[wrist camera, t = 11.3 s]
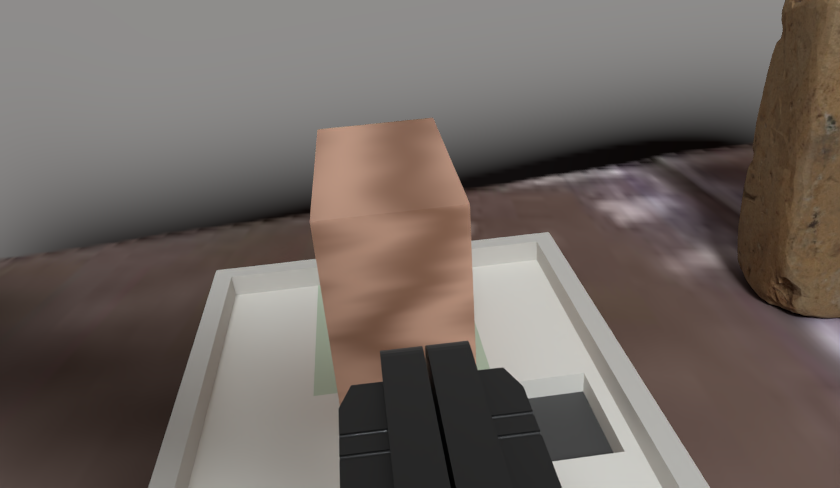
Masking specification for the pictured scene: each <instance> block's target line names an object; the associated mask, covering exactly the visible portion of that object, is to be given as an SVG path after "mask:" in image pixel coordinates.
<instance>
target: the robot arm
mask: <svg viewBox="0 0 840 488" xmlns="http://www.w3.org/2000/svg"><path fill="white" fill-rule="evenodd" d="M380 360H381V370H382V380H383V382H375V383H366V384H358V385H351V386H350V388H349V390H348V392H347V394H346V396H345V397H344V399H343V401H342V403H341V405H340V407H339V457H340V461H339V467H340V488H562V486H561V484H560V481H559V479H558V476H557V473H556V471H555V468H554V465H553V463H552V460H551V458H550V455H549V452H548V450H547V447H546V444H545V442H544V439H543V437H542V435H541V434H540V429H539V426H538V423H537V421H536V418H535V416H534V415H533V410H532V408H531V405H530V402H529V400H528V397H527V395H526V392H525V389H524V387H523V386H522V385H521V384H520V383H519V382H518V381H517V380H516V379H515V378H514V377H513V376H512V375H511V374H510V373H509V372H508V371H507V370H506V369H504V368H503V367H502V368H493V369H485V370H478V369H477V366H476V363H475V359H474V356H473V353H472V349H471V346H470V343H469V341H460V342H451V343H442V344H433V345H426V346H425V356H424V351H423V347H422V346H417V347H408V348H399V349H391V350H382V351H380ZM425 360H426V361H425Z"/></svg>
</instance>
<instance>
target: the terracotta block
mask: <svg viewBox="0 0 840 488" xmlns="http://www.w3.org/2000/svg"><path fill="white" fill-rule="evenodd" d="M310 226H311V232H312V238H313V244H314V251H315V257H316V263H317V269H318V275H319V281H320V287H321V293H322V300H323V306H324V312H325V318H326V324H327V330H328V336H329V342H330V349H331V355H332V361H333V367H334V373H335V379H336V385H337V391H338V398H339V404H340V405H341V403H342V401H343V399H344V397H345V396H346V394H347V392H348V390H349V388H350V386H351V385H358V384H366V383H375V382H383V380H382V370H381V360H380V351H382V350H391V349H399V348H408V347H417V346H422V347H423V351H424V356H425V346H426V345H433V344H442V343H451V342H460V341H469V343H470V346H471V349H472V353H473V356H474V359H475V363H476V344H475V320H474V296H473V271H472V247H471V223H470V204H469V201H468V199H467V197H466V194H465V192H464V190H463V187H462V185H461V182H460V181H459V178H458V175H457V173H456V171H455V169H454V166H453V164H452V161H451V159H450V157H449V154H448V152H447V150H446V147H445V145H444V143H443V140H442V138H441V136H440V133H439V131H438V129H437V126H436V124H435V121H434V119H433V118H425V119H416V120H406V121H396V122H387V123H376V124H367V125H357V126H347V127H338V128H328V129H318V131H317V142H316V154H315V166H314V179H313V190H312V202H311V214H310ZM425 361H426V360H425Z"/></svg>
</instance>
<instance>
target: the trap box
mask: <svg viewBox="0 0 840 488" xmlns="http://www.w3.org/2000/svg"><path fill="white" fill-rule="evenodd" d="M471 247H472V271H473V296H474V320H475V344H476V366H477V369H478V370H485V369H493V368H502V367H503V368H504V369H506V370H507V371H508V372H509V373H510V374H511V375H512V376H513V377H514V378H515V379H516V380H517V381H518V382H519V383H520V384H521V385H522V386H523V387H524V389H525V392H526V395H527V397H528V400H529V402H530V405H531V408H532V410H533V415H534V416H535V418H536V421H537V423H538V426H539V429H540V434H541V435H542V437H543V439H544V442H545V444H546V447H547V450H548V452H549V455H550V458H551V460H552V463H553V465H554V468H555V471H556V473H557V476H558V479H559V481H560V484H561V486H562V488H710V487H709V485H708V484H707V482H706V481H705V479H704V477H703V476H702V474H701V473H700V471H699V470H698V468H697V466H696V465H695V463H694V462H693V460H692V458H691V457H690V455H689V454H688V452H687V451H686V449H685V447H684V446H683V444H682V443H681V441H680V439H679V438H678V436H677V435H676V433H675V432H674V430H673V428H672V427H671V425H670V424H669V422H668V420H667V419H666V417H665V416H664V414H663V413H662V411H661V409H660V408H659V406H658V405H657V403H656V401H655V400H654V398H653V397H652V395H651V394H650V392H649V390H648V389H647V387H646V386H645V384H644V382H643V381H642V379H641V378H640V376H639V374H638V373H637V371H636V370H635V368H634V367H633V365H632V363H631V362H630V360H629V359H628V357H627V355H626V354H625V352H624V351H623V349H622V348H621V346H620V344H619V343H618V341H617V340H616V338H615V336H614V335H613V333H612V332H611V330H610V329H609V327H608V325H607V324H606V322H605V321H604V319H603V317H602V316H601V314H600V313H599V311H598V310H597V308H596V306H595V305H594V303H593V302H592V300H591V298H590V297H589V295H588V294H587V292H586V291H585V289H584V287H583V286H582V284H581V283H580V281H579V279H578V278H577V276H576V275H575V273H574V272H573V270H572V268H571V267H570V265H569V264H568V262H567V260H566V259H565V257H564V256H563V254H562V252H561V251H560V249H559V248H558V246H557V245H556V243H555V241H554V240H553V238H552V237H551V235H550V233H549V232H545V233H537V234H528V235H519V236H511V237H502V238H493V239H485V240H476V241H471ZM339 407H340V404H339V398H338V391H337V385H336V379H335V373H334V367H333V361H332V355H331V349H330V342H329V336H328V330H327V324H326V318H325V312H324V306H323V300H322V293H321V287H320V281H319V275H318V269H317V263H316V259H312V260H303V261H294V262H286V263H277V264H268V265H260V266H251V267H242V268H234V269H225V270H217V271H216V274H215V277H214V280H213V283H212V287H211V290H210V293H209V296H208V299H207V302H206V306H205V309H204V312H203V315H202V318H201V322H200V325H199V328H198V331H197V334H196V337H195V341H194V344H193V347H192V350H191V353H190V357H189V360H188V363H187V366H186V369H185V372H184V376H183V379H182V382H181V385H180V388H179V392H178V395H177V398H176V401H175V404H174V407H173V411H172V414H171V417H170V420H169V423H168V427H167V430H166V433H165V436H164V439H163V442H162V446H161V449H160V452H159V455H158V458H157V462H156V465H155V468H154V471H153V474H152V477H151V481H150V484H149V487H148V488H340V467H339V461H340V457H339Z"/></svg>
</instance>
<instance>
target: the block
mask: <svg viewBox="0 0 840 488" xmlns="http://www.w3.org/2000/svg"><path fill="white" fill-rule="evenodd" d="M782 25H783V32H782V37H781V39H780V40H779V41H778V42H777V44H776V46H775V49H774V52H773V54H772V58H771V62H770V66H769V69H768V73H767V78H766V82H765V86H764V91H763V96H762V100H761V104H760V108H759V113H758V118H757V122H756V130H755V137H754V142H753V151H754V157H753V160H752V162H751V164H750V166H749V168H748V171H747V176H746V180H745V185H744V191H743V198H742V205H741V213H740V220H739V227H738V262H739V264H740V267H741V270H742V271H743V274H744V276H745V278H746V280H747V282H748V283H749V284H750V286H751V287H752V289H753V290H754V291H755V292H756V293H757V294H758V296H759V297H761V298H762V299H764V300H765V301H766V302H768V303H769V304H772V305H776V306H779V307H781V308H783V309H786V310H789V311H791V312H793V313H798V314H801V315H804V316H814V317H819V318H840V0H785V3H784V6H783V10H782Z"/></svg>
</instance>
